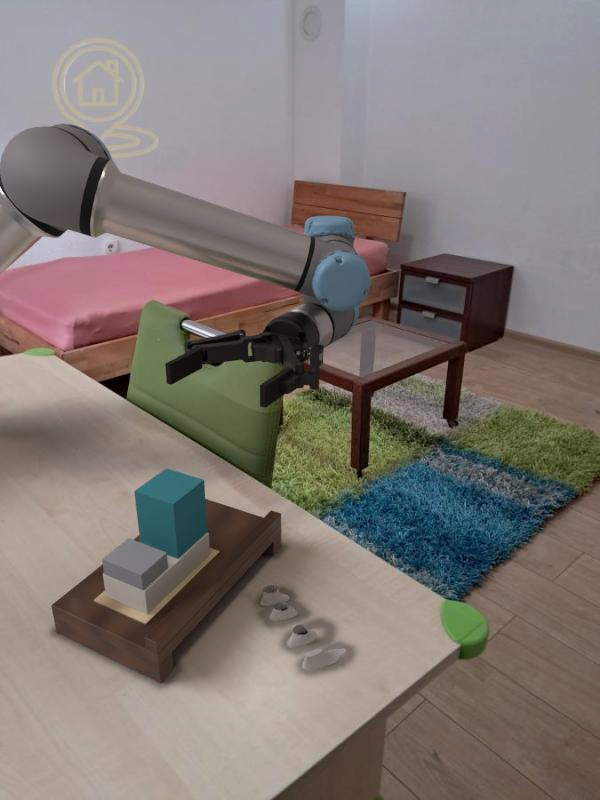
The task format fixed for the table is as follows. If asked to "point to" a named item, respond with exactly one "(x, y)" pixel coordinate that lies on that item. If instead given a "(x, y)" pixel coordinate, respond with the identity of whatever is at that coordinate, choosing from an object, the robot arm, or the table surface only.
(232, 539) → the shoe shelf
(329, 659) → the baby socks
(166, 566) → the stacked toy blocks
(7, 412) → the table surface
